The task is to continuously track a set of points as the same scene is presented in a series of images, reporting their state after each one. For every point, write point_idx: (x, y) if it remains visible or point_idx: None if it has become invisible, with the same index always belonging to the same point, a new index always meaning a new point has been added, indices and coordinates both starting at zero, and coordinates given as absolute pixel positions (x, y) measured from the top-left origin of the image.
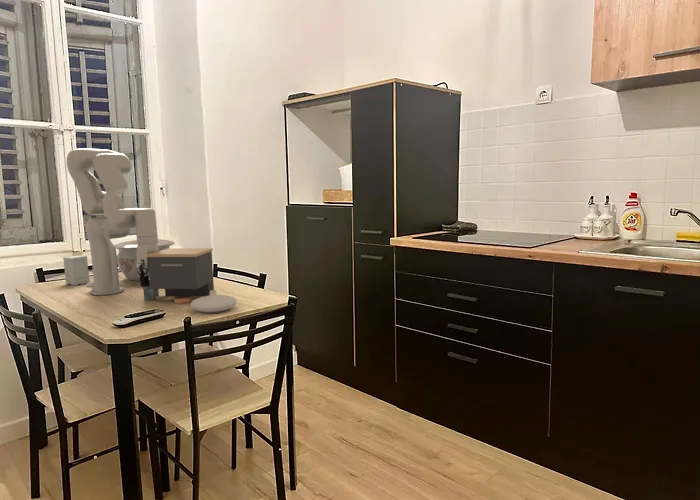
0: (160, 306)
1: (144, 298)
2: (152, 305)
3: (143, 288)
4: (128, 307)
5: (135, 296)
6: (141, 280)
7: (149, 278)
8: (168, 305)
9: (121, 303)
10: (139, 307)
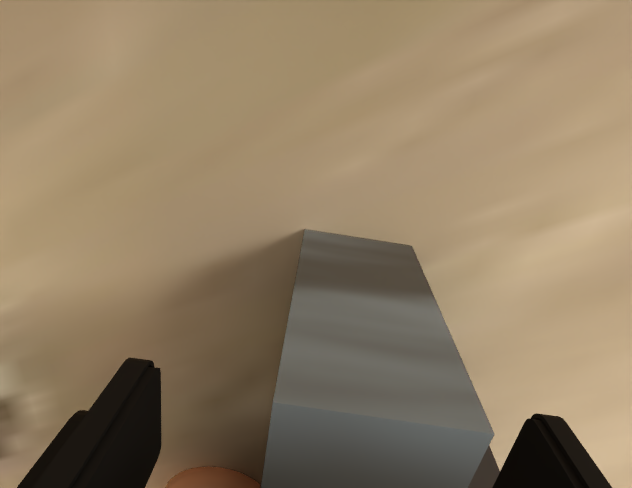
0: None
1: (302, 241)
2: (110, 360)
3: (292, 301)
4: (2, 188)
5: (546, 33)
6: (29, 478)
7: (421, 469)
8: None
9: (154, 14)
10: (27, 287)
